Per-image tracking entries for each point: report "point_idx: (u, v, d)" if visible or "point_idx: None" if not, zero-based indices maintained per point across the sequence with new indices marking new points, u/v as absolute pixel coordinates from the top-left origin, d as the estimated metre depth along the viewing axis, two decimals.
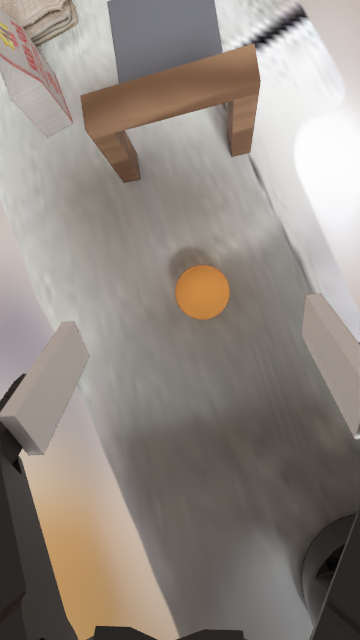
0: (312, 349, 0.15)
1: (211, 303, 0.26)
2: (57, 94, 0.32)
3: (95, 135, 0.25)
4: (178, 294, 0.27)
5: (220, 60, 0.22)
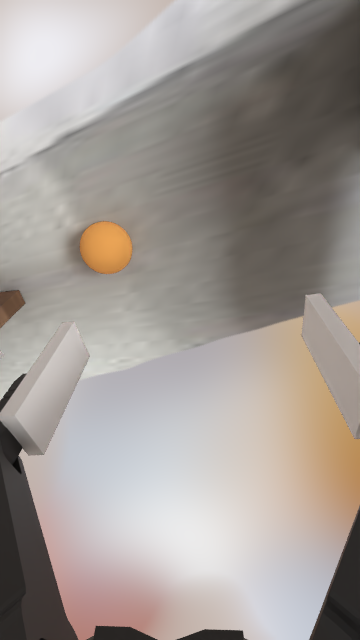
0: (312, 349, 0.15)
1: (111, 246, 0.28)
2: None
3: None
4: (107, 273, 0.31)
5: None
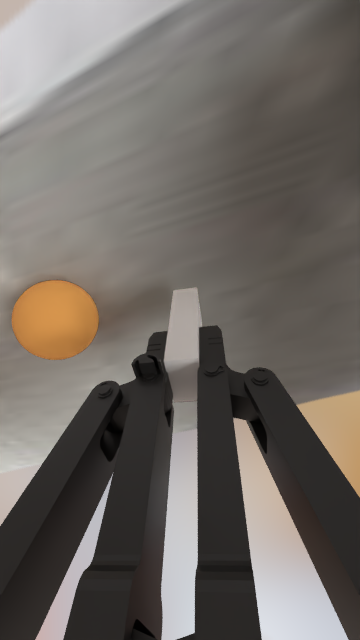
0: None
1: (58, 326, 0.17)
2: None
3: None
4: (60, 359, 0.20)
5: None
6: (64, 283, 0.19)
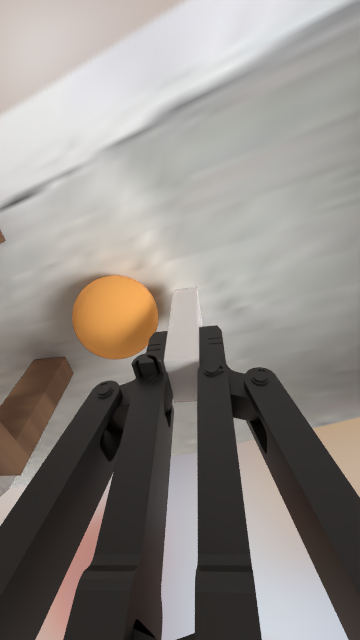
0: None
1: None
2: None
3: (24, 457, 0.19)
4: None
5: None
6: (88, 296, 0.16)
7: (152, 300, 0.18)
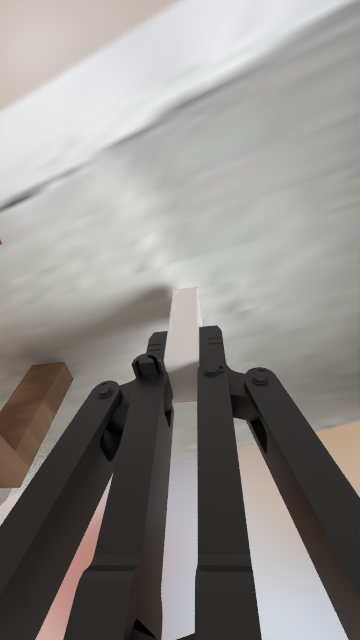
0: None
1: None
2: None
3: (23, 469, 0.18)
4: None
5: None
6: None
7: None
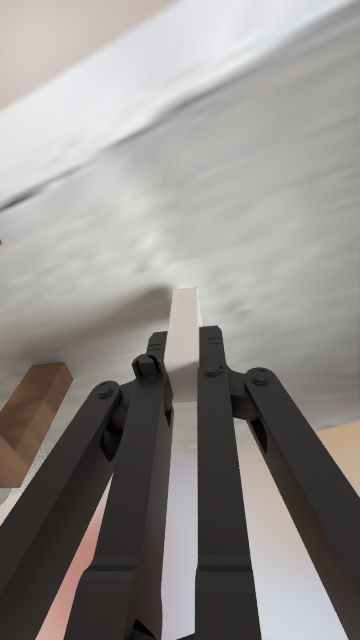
0: None
1: None
2: None
3: (23, 469, 0.18)
4: None
5: None
6: None
7: None
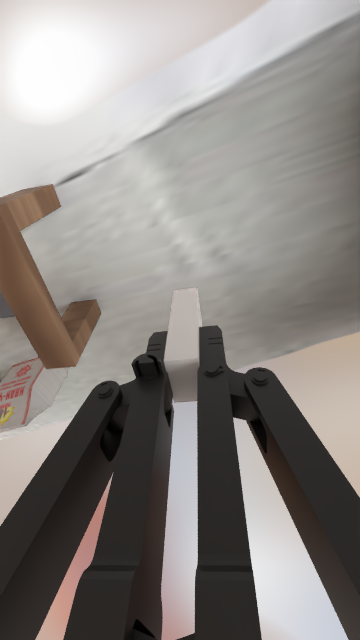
0: None
1: None
2: (32, 367, 0.37)
3: (77, 356, 0.27)
4: None
5: None
6: None
7: None
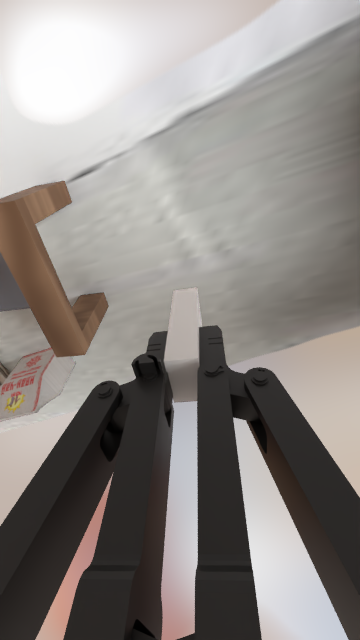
0: None
1: None
2: (42, 358, 0.38)
3: (86, 345, 0.28)
4: None
5: (2, 242, 0.22)
6: None
7: None
